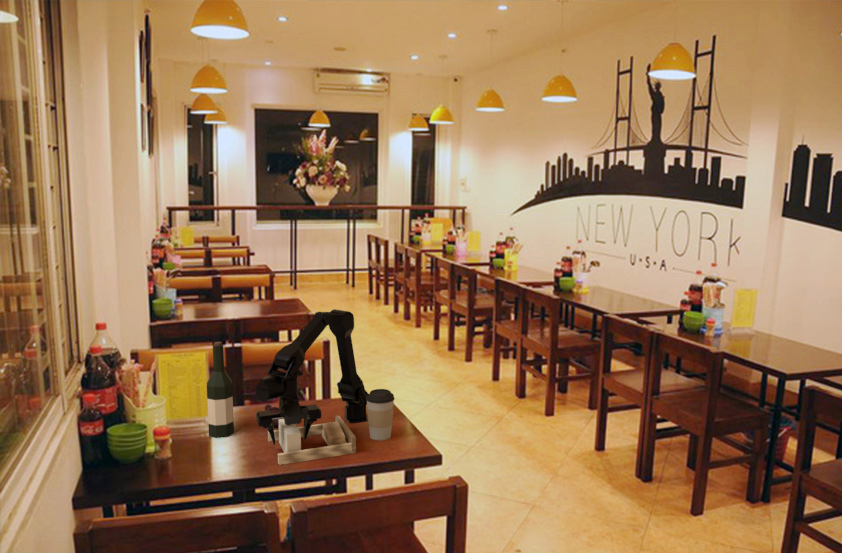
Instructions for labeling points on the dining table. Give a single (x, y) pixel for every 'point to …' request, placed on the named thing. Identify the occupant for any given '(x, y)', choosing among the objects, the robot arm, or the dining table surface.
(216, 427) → the wine bottle
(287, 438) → the white rectangular block
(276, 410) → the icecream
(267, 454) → the dining table surface
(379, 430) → the coffee cup
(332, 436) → the offcut upper
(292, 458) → the frame
